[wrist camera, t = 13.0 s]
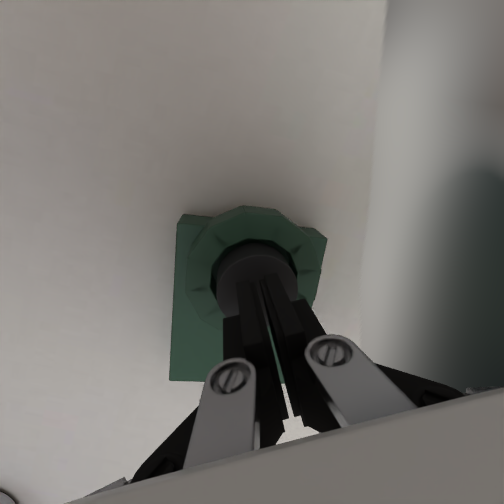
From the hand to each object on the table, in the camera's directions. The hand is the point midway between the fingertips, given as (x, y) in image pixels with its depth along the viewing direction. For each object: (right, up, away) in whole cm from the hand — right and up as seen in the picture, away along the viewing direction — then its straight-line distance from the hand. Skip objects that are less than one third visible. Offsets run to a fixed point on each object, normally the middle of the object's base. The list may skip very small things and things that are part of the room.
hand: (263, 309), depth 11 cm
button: (0, +1, +3) cm, 3 cm away
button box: (-1, -1, +7) cm, 7 cm away
